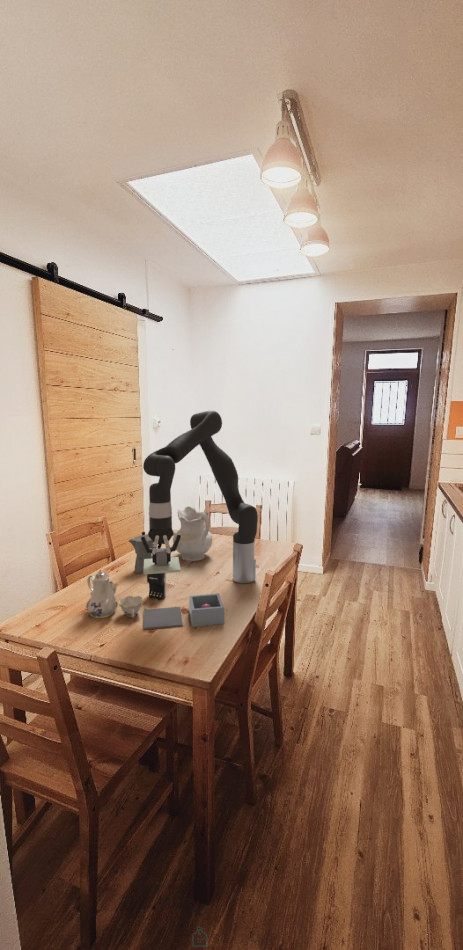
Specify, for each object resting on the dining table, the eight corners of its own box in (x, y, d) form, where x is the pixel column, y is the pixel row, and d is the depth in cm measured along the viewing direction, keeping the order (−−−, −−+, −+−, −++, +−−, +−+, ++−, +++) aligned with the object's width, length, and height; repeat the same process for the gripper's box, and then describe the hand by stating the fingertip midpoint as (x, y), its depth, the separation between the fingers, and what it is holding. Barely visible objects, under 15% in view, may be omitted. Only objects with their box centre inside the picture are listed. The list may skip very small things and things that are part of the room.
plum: (210, 611, 148) (210, 601, 147) (212, 617, 144) (212, 606, 143) (199, 612, 147) (199, 602, 146) (201, 618, 143) (200, 607, 143)
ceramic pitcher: (223, 558, 206) (225, 509, 204) (199, 568, 190) (201, 514, 188) (189, 550, 218) (190, 503, 215) (164, 558, 201) (165, 508, 199)
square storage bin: (219, 608, 152) (219, 593, 151) (224, 623, 141) (224, 607, 140) (189, 611, 150) (188, 595, 149) (191, 626, 139) (191, 610, 138)
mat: (180, 608, 152) (180, 606, 152) (182, 626, 140) (182, 624, 140) (144, 611, 150) (144, 609, 150) (143, 629, 137) (143, 628, 137)
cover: (178, 559, 149) (178, 543, 148) (180, 571, 137) (180, 555, 136) (144, 561, 147) (143, 545, 146) (143, 574, 135) (142, 557, 134)
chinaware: (151, 618, 149) (154, 572, 147) (112, 632, 136) (114, 583, 134) (106, 595, 166) (108, 555, 165) (67, 606, 153) (69, 562, 152)
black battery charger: (146, 598, 160) (145, 569, 159) (151, 593, 164) (150, 566, 162) (162, 600, 158) (161, 572, 156) (166, 596, 162) (166, 568, 160)
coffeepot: (131, 576, 181) (130, 536, 178) (128, 568, 190) (126, 530, 187) (166, 571, 187) (165, 532, 184) (161, 563, 196) (160, 527, 193)
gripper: (180, 510, 144) (181, 558, 147) (139, 512, 141) (140, 560, 144) (182, 516, 137) (183, 566, 139) (138, 518, 134) (140, 568, 137)
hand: (161, 563), depth 142 cm, fingers closed on cover, 3 cm apart
